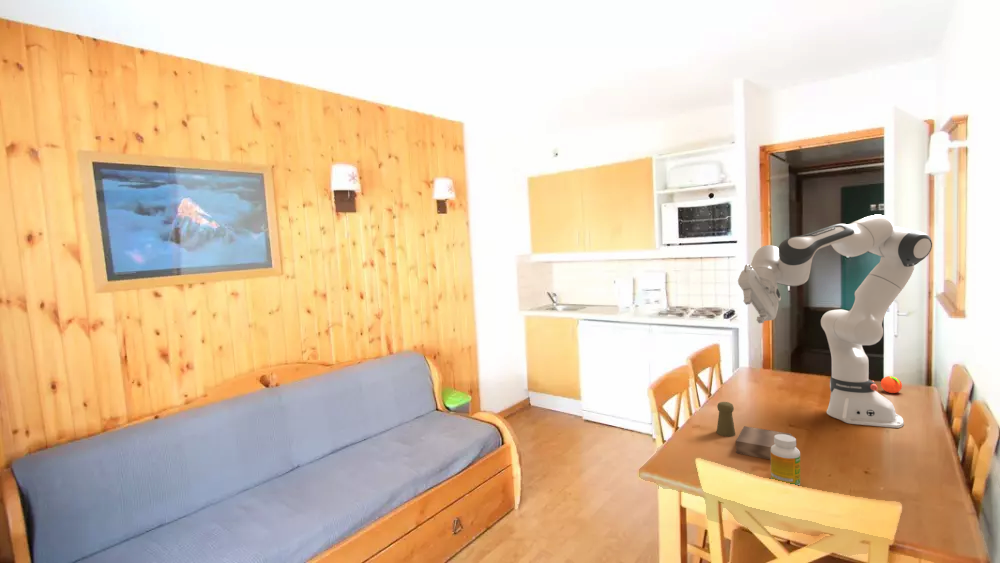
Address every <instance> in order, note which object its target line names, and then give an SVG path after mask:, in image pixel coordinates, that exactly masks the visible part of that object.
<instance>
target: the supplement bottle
mask: <svg viewBox="0 0 1000 563" xmlns="http://www.w3.org/2000/svg"><path fill="white" fill-rule="evenodd" d="M774 443H775V444H774V445H773V446H772V447H771V460H770V480H771V479H775V480H778V481H782V482H786V483H790V484H795V485H799V486H800V485H801V451H800V450H799V448H798V447H797V438H795V436H793V435H792V436H790V435H785V434H777V435H775V436H774Z"/></svg>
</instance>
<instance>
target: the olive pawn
mask: <svg viewBox="0 0 1000 563" xmlns="http://www.w3.org/2000/svg"><path fill="white" fill-rule="evenodd" d="M734 409H735V408H734V405H733V403H731V402H728V401H720V402H718V403H717V411H718V418H717V424H716V425H717V427H716V434H717V435H719V436H721V437H728V438H729V437H731V438H732V437H735V436H736V431H735V422H734V417H733V412H734Z"/></svg>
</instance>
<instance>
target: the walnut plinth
mask: <svg viewBox="0 0 1000 563" xmlns="http://www.w3.org/2000/svg"><path fill="white" fill-rule="evenodd" d="M777 434H785V435H790V436H793V435H792V433H789V432H781V431H776V430H769V429H763V428H758V427H752V426H743V427H742V429H741V431H740V432H739V434H738V436H737V438H736V440H735V453H736V454H741V455H745V456H750V457H754V458H755V457H756V458H761V459H766V460H770V461H771V447H772V446H773V445H774V444H775V443H774V436H775V435H777Z"/></svg>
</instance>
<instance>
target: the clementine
mask: <svg viewBox="0 0 1000 563" xmlns="http://www.w3.org/2000/svg"><path fill="white" fill-rule="evenodd" d="M880 387H881V388H882V389H883V390H884V391H885V392H886V393H889V394H896V393H899V392H900V391H901V390H902V388H903V384H902V381H901V380H900V379H899V378H897V377H896V376H892V375H890V376H888V375H887V376H885V377H883V378H882V379H881V380H880Z"/></svg>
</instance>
